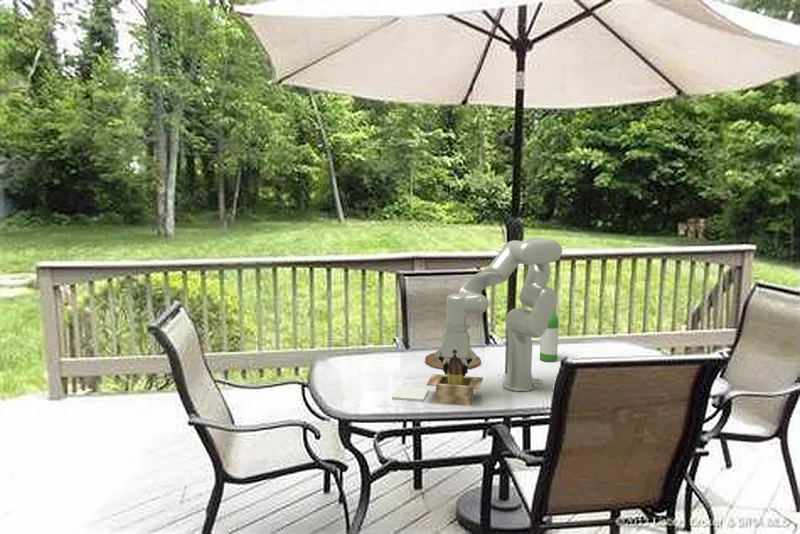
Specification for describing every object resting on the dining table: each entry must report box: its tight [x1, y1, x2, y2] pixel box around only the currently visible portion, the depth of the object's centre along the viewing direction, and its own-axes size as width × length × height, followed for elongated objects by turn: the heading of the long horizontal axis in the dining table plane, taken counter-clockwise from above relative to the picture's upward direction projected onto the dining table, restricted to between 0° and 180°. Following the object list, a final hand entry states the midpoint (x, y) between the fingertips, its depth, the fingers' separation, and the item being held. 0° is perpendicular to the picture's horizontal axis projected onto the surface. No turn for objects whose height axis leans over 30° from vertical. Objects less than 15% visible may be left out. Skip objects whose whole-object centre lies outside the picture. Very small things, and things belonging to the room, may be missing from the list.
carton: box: [426, 373, 484, 406], centre depth 242 cm, size 20×13×7 cm, turn 78°
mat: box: [391, 386, 430, 403], centre depth 245 cm, size 12×12×1 cm
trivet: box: [424, 352, 482, 371], centre depth 289 cm, size 25×25×2 cm
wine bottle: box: [539, 311, 559, 363], centre depth 291 cm, size 8×8×30 cm
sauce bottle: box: [447, 350, 464, 385], centre depth 241 cm, size 6×6×20 cm
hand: (455, 374), depth 241 cm, fingers closed on sauce bottle, 6 cm apart
